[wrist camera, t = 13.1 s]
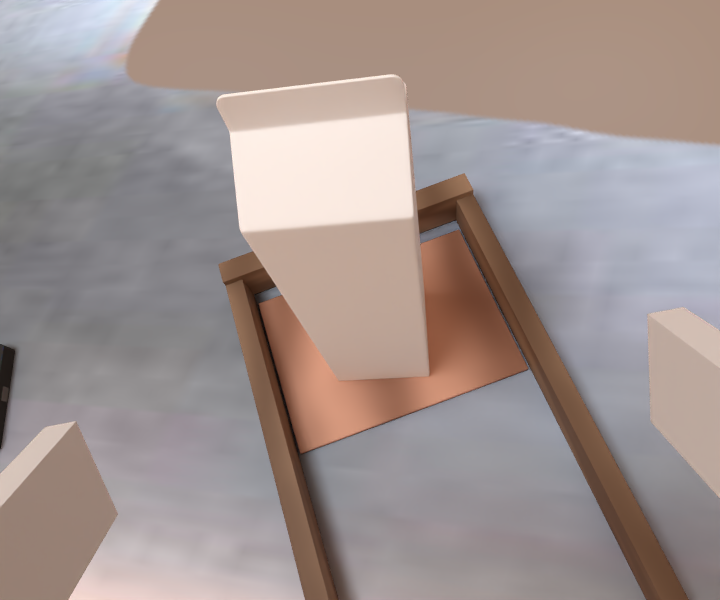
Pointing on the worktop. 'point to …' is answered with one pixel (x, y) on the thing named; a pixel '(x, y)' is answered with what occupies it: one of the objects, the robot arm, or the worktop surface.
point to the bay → (424, 380)
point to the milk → (336, 216)
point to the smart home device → (4, 382)
